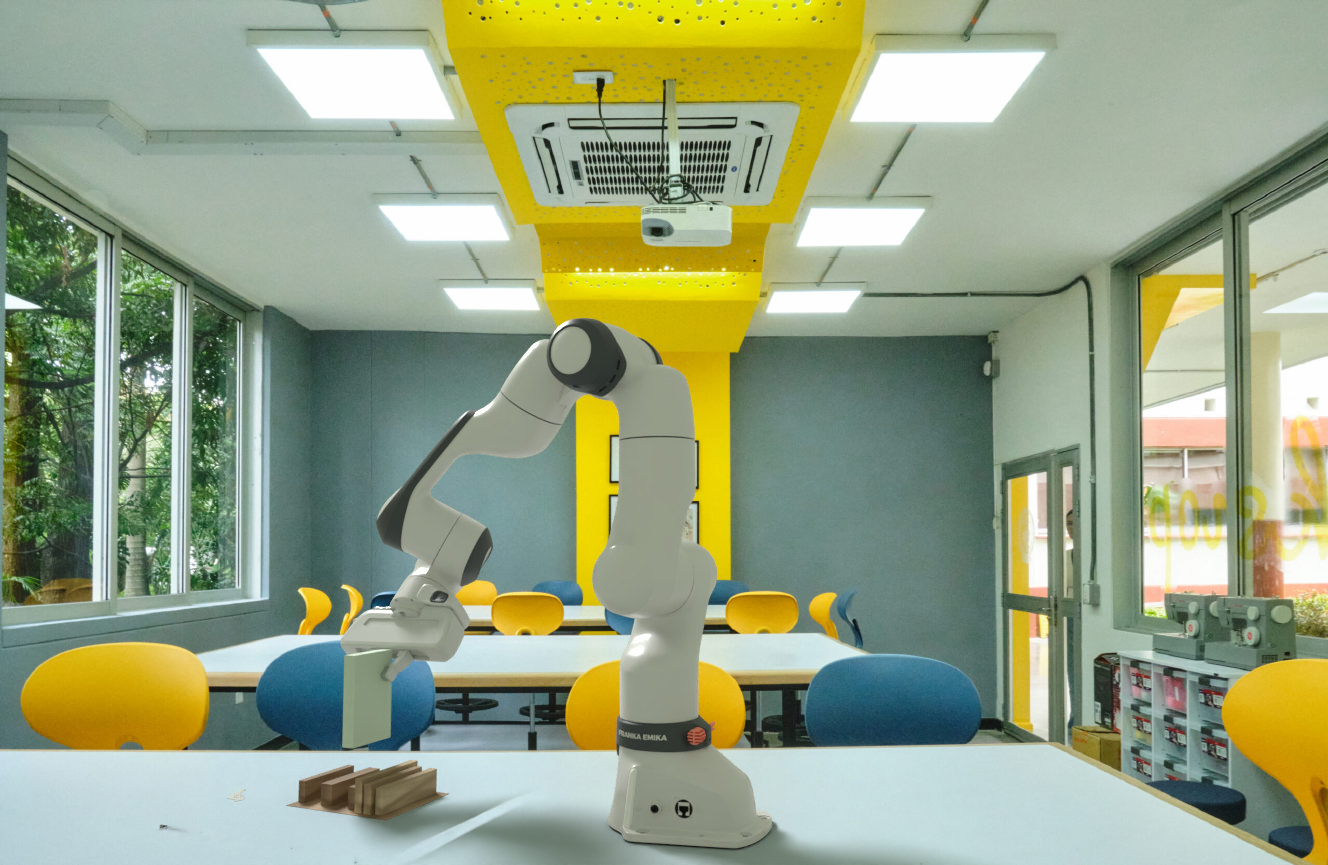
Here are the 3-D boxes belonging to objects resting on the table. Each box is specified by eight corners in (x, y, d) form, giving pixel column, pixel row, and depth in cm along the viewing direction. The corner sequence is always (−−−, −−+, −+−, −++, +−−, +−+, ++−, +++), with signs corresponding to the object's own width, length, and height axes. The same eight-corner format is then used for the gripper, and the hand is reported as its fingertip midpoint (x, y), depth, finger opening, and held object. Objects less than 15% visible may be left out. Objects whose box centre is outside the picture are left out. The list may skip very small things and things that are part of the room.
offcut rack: (449, 801, 137) (450, 762, 138) (385, 829, 124) (387, 785, 125) (354, 789, 144) (355, 751, 145) (285, 813, 131) (287, 772, 132)
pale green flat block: (390, 737, 139) (392, 649, 140) (353, 748, 131) (355, 655, 133) (380, 736, 139) (381, 648, 141) (342, 747, 132) (344, 655, 134)
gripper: (359, 594, 151) (313, 662, 140) (463, 595, 142) (421, 667, 132) (377, 619, 154) (333, 688, 144) (479, 621, 146) (440, 694, 136)
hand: (376, 678), depth 138 cm, fingers closed on pale green flat block, 2 cm apart
